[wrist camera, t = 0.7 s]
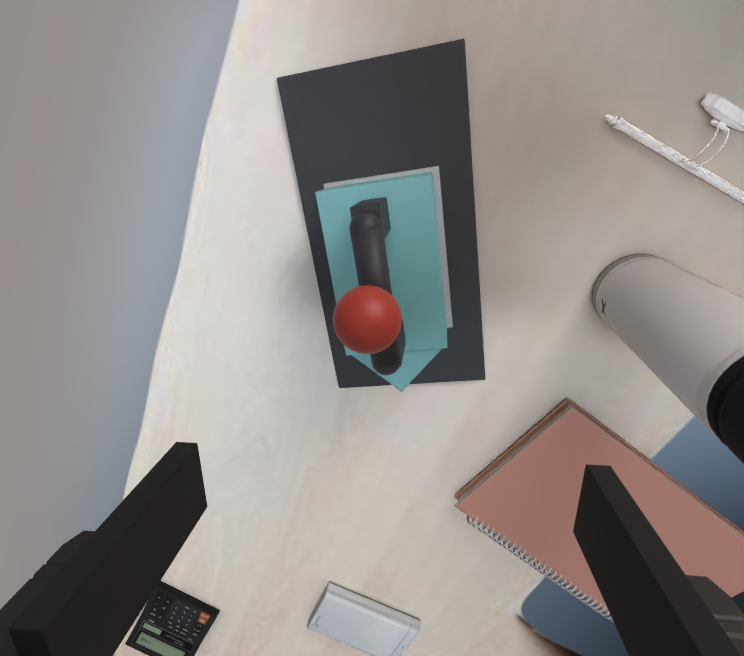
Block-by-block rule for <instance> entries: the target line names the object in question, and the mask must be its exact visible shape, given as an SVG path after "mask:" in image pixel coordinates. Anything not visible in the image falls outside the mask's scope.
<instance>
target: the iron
mask: <svg viewBox="0 0 744 656" xmlns="http://www.w3.org/2000/svg"><path fill="white" fill-rule="evenodd" d="M315 194H316V199H317V204H318V210H319V215H320V220H321V226H322V231H323V236H324V242H325V247H326V252H327V257H328V263H329V268H330V273H331V279H332V284H333V289H334V294H335V300H336V307H335V309H334V314H333V326H334V330H335V333H336V335H337V337H338V339H339V340H340V341H341V342H342V343H343V345H344V347H345V353H346V355H352V356H353V357H355V358H356V359H358V360H359V361H360V362H362V363H363V364H364V365H366V366H367V367H369V368H370V369H371V370H373V371H374V372H375V373H377V374H378V375H379V376H381V377H382V378H384V379H385V380H386V381H388V382H389V383H390V384H392V385H393V386H395V387H396V388H397V389H399V390H400V391H403V390H404V389H405V388H406V386H407V385H408V384H409V383H410V382H411V381H412V380H413V379H414V378H415V377H416V376H417V375H418V374H419V373H420V372H421V370H422V369H423V368H424V367H425V366H426V365H427V364H428V363H429V362H430V361H431V360H432V359H433V358H434V357H435V356H436V355H437V353H438V352H439V351H440V350H441V349H443V348H447V328H450V327H453V323H452V311H451V300H450V288H449V277H448V265H447V254H446V242H445V231H444V220H443V208H442V197H441V185H440V174H439V166H435V167H428V168H422V169H415V170H409V171H402V172H396V173H389V174H383V175H376V176H370V177H363V178H357V179H350V180H344V181H338V182H331V183H326V184H324V189H323V190H320V191H317V192H315Z"/></svg>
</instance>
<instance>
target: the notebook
mask: <svg viewBox="0 0 744 656" xmlns="http://www.w3.org/2000/svg"><path fill="white" fill-rule="evenodd" d="M586 464H589V465H607V466H611V467H612V469H613V470H614V472H615V473H616V474H617V476H618V477H619V479H620V480H621V482H622V483H623V485H624V486H625V488H626V489H627V490H628V492H629V493H630V495H631V496H632V498H633V499H634V501H635V502H636V504H637V505H638V506H639V508H640V509H641V511H642V512H643V514H644V515H645V517H646V518H647V519H648V521H649V522H650V524H651V525H652V527H653V528H654V530H655V531H656V533H657V534H658V535H659V537H660V538H661V540H662V541H663V543H664V544H665V546H666V547H667V549H668V550H669V551H670V553H671V554H672V556H673V557H674V559H675V560H676V562H677V563H678V565H679V566H680V567H681V569H682V570H683V572H684V573H685V575H693V576H707V577H708V578H709V579H710V580H711V581H713V582H714V583H715V584H716V585H717V586H718V587H720V588H721V589H722V590H723V591H724V592H726V593H727V594H728V595H729V596H730V597H733V596H735V595H737V594H739V593H741V592H743V591H744V531H743V530H741V529H740V528H738V527H737V526H736V525H734V524H733V523H732V522H731V521H729V520H728V519H726V518H725V517H724V516H723V515H721V514H720V513H719V512H717V511H716V510H715V509H713V508H712V507H710V506H709V505H708V504H707V503H705V502H704V501H703V500H701V499H700V498H699V497H697V496H696V495H695V494H694V493H692V492H691V491H689V490H688V489H687V488H686V487H684V486H683V485H682V484H680V483H679V482H678V481H676V480H675V479H674V478H672V477H671V476H670V475H668V474H667V473H665V472H664V471H663V470H662V469H660V468H659V467H658V466H656V465H655V464H653V463H652V462H651V461H650V460H648V459H647V458H646V457H645V456H643V455H642V454H641V453H639V452H638V451H637V450H635V449H634V448H633V447H631V446H630V445H629V444H627V443H626V442H625V441H623V440H622V439H621V438H619V437H618V436H617V435H615V434H614V433H613V432H611V431H610V430H609V429H607V428H606V427H605V426H603V425H602V424H601V423H599V422H598V421H597V420H596V419H594V418H593V417H592V416H590V415H589V414H588V413H586V412H585V411H584V410H582V409H581V408H580V407H578V406H577V405H576V404H574V403H573V402H572V401H570V400H569V399H568V398H567V399H566V400H565V401H564V402H563V403H561V404H560V405H559V406H558V407H557V408H556V409H555V410H553V411H552V412H551V413H550V414H549V415H548V416H546V417H545V418H544V419H543V420H542V421H541V422H539V423H538V424H537V425H536V426H535V427H534V428H533V429H531V430H530V431H529V432H528V433H527V434H526V435H524V436H523V437H522V438H521V439H520V440H519V441H517V442H516V443H515V444H514V445H513V446H512V447H511V448H509V449H508V450H507V451H506V452H505V453H504V454H502V455H501V456H500V457H499V458H498V459H497V460H496V461H494V462H493V463H492V464H491V465H490V466H489V467H487V468H486V469H485V470H484V471H483V472H482V473H480V474H479V475H478V476H477V477H476V478H475V479H474V480H472V481H471V482H470V483H469V484H468V485H467V486H465V487H464V488H463V489H462V490H461V491H460V492H458V493H457V494H456V495H455V498H456V499H458V503H457V504H456V505H455V507H456V508H458V509H459V510H461V511H462V512H464V513H465V514H466V515H467V522H468V524H470V525H473V527H474V528H476V529H477V528H478V530H479V531H480V532H483V533H484V535H486V536H489V538H490V539H492V540H494V541H495V542H496V543H499V545H500V546H503V547H504V548H505V549H507V550H509V551H510V552H511V553H513V554H514V555H515V556H517V557H519V558H520V559H521V560H523V561H525V563H527V564H529V565H530V566H531V567H533V568H535V570H537V571H540V573H541V574H543V575H545V576H546V577H547V578H550V579H551V578H553V579H551V580H552V581H553V582H555V583H556V584H558V585H560V587H562V588H564V589H565V590H566V591H568V592H570V594H572V595H574V596H575V597H576V598H578V599H580V601H582V602H584V603H585V604H586V605H589V606H590V607H591V608H593V609H594V610H595V611H597V612H599V614H601V615H603V616H604V617H605V618H607V619H609V620H610V621H612V622H613V623H614V621H613V619H612V617H609V616H608V615H609V614H610V613H609V610H608V608H607V606H606V604H605V601H604V599H603V597H602V595H601V593H600V590H599V588H598V586H597V584H596V582H595V579H594V577H593V575H592V573H591V570H590V568H589V566H588V564H587V562H586V559H585V557H584V555H583V553H582V551H581V548H580V546H579V544H578V542H577V540H576V537H575V535H574V533H573V528H574V523H575V518H576V513H577V507H578V502H579V497H580V492H581V487H582V481H583V476H584V471H585V466H586ZM469 517H471V518H472V522H471V523H470V522H469ZM476 522H478V524H477V526H475V525H474V524H475V523H476ZM481 526H483V530H480V527H481ZM487 529H488V534H486V533H485V531H486V530H487ZM490 531H491V532H490ZM492 533H493V537H490V535H491V534H492ZM495 535H496V536H495ZM497 537H498V541H496V540H495V539H496V538H497ZM500 538H501V539H500ZM502 541H503V545H502V544H501V543H500V542H502ZM505 541H506V543H505ZM507 545H508V548H506V546H507ZM510 545H511V547H510ZM515 548H516V549H517V550H516V551H515ZM512 549H513V552H512V551H511V550H512ZM517 552H518V555H516V553H517ZM520 552H522V554H520ZM525 555H526V556H527V557H526V558H525ZM522 556H523V559H522V558H521V557H522ZM530 559H532V561H531V562H530ZM526 560H528V562H526ZM535 562H536V563H537V565H535ZM531 564H533V566H532V565H531ZM540 566H542V568H541V569H540ZM536 567H538V569H536ZM545 569H546V570H548V571H547V572H546V573H545ZM541 571H543V573H542V572H541ZM550 572H551V573H552V574H553V575H551V576H550ZM547 574H548V576H547ZM555 576H556V577H558V578H557V579H556V580H555ZM560 579H561V580H562V581H563V582H562V583H560ZM557 581H558V583H557ZM565 583H566V584H568V585H567V586H565ZM561 585H563V586H561ZM570 586H571V587H572V590H570ZM566 588H568V590H567V589H566ZM574 590H577V593H575V592H574ZM572 592H573V593H572ZM580 593H581V594H582V596H581V597H580V596H579V594H580ZM576 595H577V596H578V597H577V596H576ZM584 597H587V600H585V599H584ZM582 599H583V600H582ZM590 600H591V601H592V603H591V604H590V603H589V601H590ZM586 602H587V603H588V604H587V603H586ZM594 604H596V607H594ZM599 607H601V610H599V609H598V608H599ZM596 609H597V610H596ZM605 610H606V614H604V612H603V611H605ZM601 612H602V613H601ZM606 616H607V617H606ZM610 616H611V615H610Z"/></svg>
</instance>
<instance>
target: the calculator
mask: <svg viewBox="0 0 744 656" xmlns="http://www.w3.org/2000/svg"><path fill="white" fill-rule="evenodd" d="M219 611H220V610H218V609H216V608H214V607H212V606H210V605H208V604H206V603H204V602H202V601H200V600H198V599H196V598H194V597H192V596H190V595H188V594H185V593H183V592H181V591H179V590H177V589H175V588H173V587H171V586H169V585H167V584H165V583H163V582H161V581H160V582H159V583H158V585H157V587H156V588H155V590H154V591H153V593H152V594H151V596H150V598H149V599H148V602H147V604H146V606H145V608H144V610H143V612H142V614H141V616H140V618H139V620H138V622H137V623H136V625H135V627H134V629H133V631H132V632H131V634H130V636H129V638H128V640H127V641H126V643H125V644H126V645H128V646H130V647H132V648H134V649H136V650H138V651H140V652H142V653H144V654H147V655H149V656H194V655H195V653H196V651H197V650H198V648H199V646H200V644H201V642H202V641H203V639H204V637H205V636H206V634H207V632H208V631H209V629H210V627H211V626H212V624H213V622H214V621H215V619H216V617H217V615H218V613H219Z"/></svg>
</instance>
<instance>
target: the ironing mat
mask: <svg viewBox="0 0 744 656" xmlns="http://www.w3.org/2000/svg"><path fill="white" fill-rule="evenodd" d="M277 82H278V87H279V92H280V97H281V102H282V107H283V112H284V117H285V122H286V127H287V132H288V137H289V142H290V147H291V152H292V156H293V161H294V166H295V171H296V176H297V181H298V186H299V191H300V196H301V201H302V206H303V211H304V216H305V221H306V226H307V231H308V236H309V241H310V246H311V251H312V256H313V261H314V266H315V271H316V276H317V281H318V286H319V291H320V296H321V301H322V306H323V311H324V316H325V321H326V326H327V331H328V336H329V341H330V346H331V351H332V356H333V361H334V366H335V370H336V375H337V380H338V385H339V388H348V387H365V386H382V385H392V384H390V383H389V382H388V381H386V380H385V379H384V378H382V377H381V376H379V375H378V374H377V373H375V372H374V371H373V370H371V369H370V368H369V367H367V366H366V365H364V364H363V363H362V362H360V361H359V360H358V359H356V358H355V357H353V356H352V355H346V353H345V347H344V345H343V343H342V342H341V341H340V340H339V339H338V337H337V335H336V333H335V330H334V326H333V314H334V309H335V307H336V300H335V294H334V289H333V284H332V279H331V273H330V268H329V263H328V257H327V252H326V247H325V242H324V236H323V231H322V226H321V220H320V215H319V210H318V204H317V199H316V194H315V192H317V191H320V190H323V189H324V184H326V183H331V182H338V181H344V180H350V179H357V178H363V177H370V176H376V175H383V174H389V173H396V172H402V171H409V170H415V169H422V168H428V167H435V166H439V174H440V185H441V197H442V208H443V220H444V231H445V242H446V254H447V265H448V277H449V288H450V300H451V311H452V323H453V327H450V328H447V348H443V349H441V350H440V351H439V352H438V353H437V355H436V356H435V357H434V358H433V359H432V360H431V361H430V362H429V363H428V364H427V365H426V366H425V367H424V368H423V369H422V370H421V372H420V373H419V374H418V375H417V376H416V377H415V378H414V379H413V380H412V381H411V382H410V383H409V384H417V383H434V382H451V381H468V380H485V368H484V352H483V336H482V319H481V303H480V287H479V270H478V254H477V237H476V221H475V205H474V188H473V172H472V156H471V139H470V123H469V107H468V90H467V74H466V57H465V41H464V39H461V40H456V41H451V42H447V43H442V44H437V45H432V46H427V47H423V48H418V49H413V50H408V51H404V52H399V53H394V54H389V55H384V56H380V57H375V58H370V59H365V60H361V61H356V62H351V63H346V64H341V65H337V66H332V67H327V68H322V69H317V70H313V71H308V72H303V73H298V74H294V75H289V76H284V77H279V78H277Z"/></svg>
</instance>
